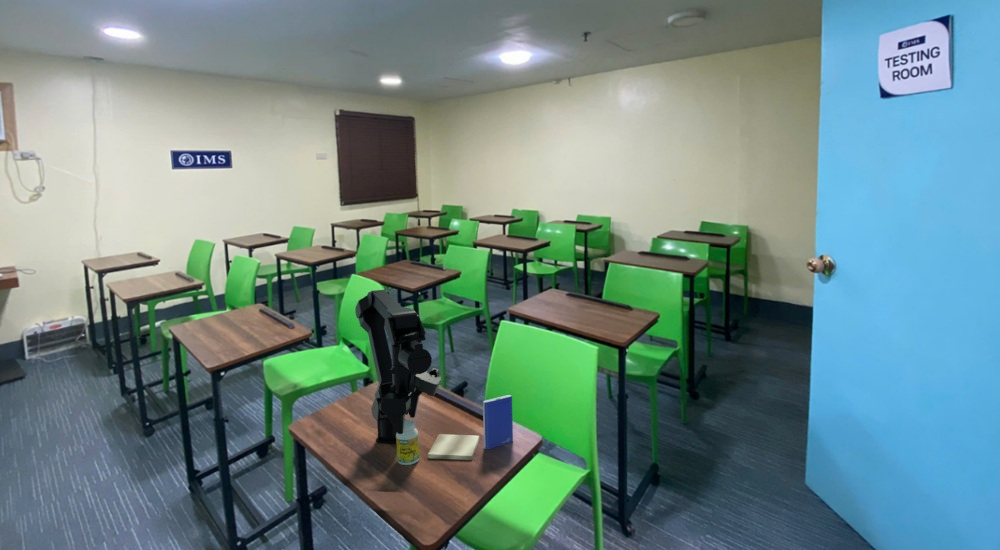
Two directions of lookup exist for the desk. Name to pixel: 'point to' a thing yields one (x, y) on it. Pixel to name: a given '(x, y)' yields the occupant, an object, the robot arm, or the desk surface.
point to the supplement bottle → (408, 444)
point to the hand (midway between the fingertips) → (406, 425)
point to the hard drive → (497, 421)
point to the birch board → (454, 447)
